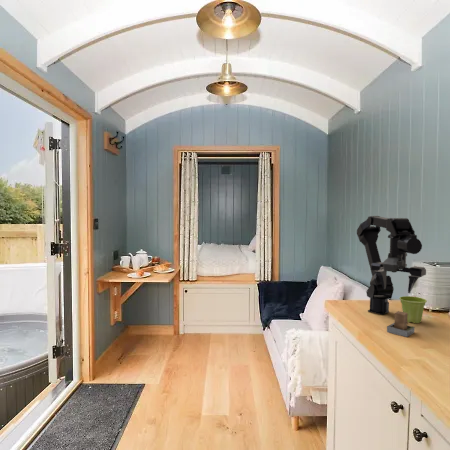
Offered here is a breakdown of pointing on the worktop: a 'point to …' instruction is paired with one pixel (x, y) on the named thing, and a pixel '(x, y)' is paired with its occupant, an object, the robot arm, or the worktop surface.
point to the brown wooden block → (400, 320)
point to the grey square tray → (401, 330)
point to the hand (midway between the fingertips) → (396, 291)
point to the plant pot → (413, 308)
